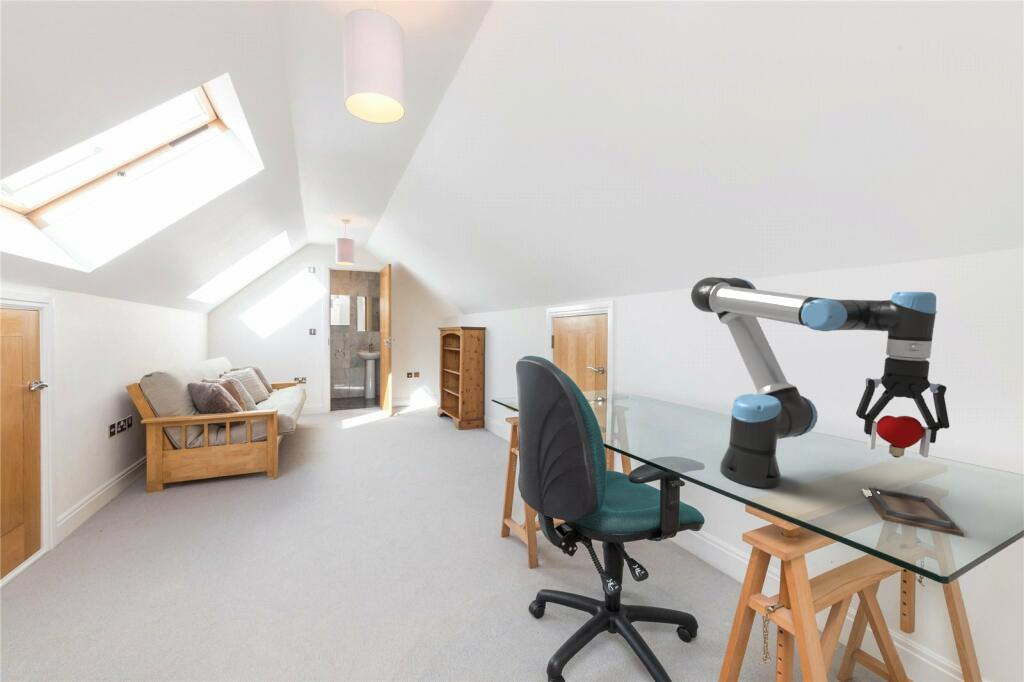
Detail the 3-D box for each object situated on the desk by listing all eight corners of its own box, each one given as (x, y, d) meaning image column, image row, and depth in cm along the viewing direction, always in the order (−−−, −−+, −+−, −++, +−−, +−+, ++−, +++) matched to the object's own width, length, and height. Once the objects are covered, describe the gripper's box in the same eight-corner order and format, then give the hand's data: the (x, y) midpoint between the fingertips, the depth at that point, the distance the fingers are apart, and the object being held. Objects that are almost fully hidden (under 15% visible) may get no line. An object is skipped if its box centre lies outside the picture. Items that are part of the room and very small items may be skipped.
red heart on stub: (902, 452, 101) (906, 412, 100) (930, 463, 94) (935, 421, 93) (864, 451, 101) (868, 412, 100) (889, 462, 95) (894, 420, 94)
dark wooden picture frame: (882, 519, 97) (883, 511, 97) (861, 490, 111) (862, 483, 111) (963, 536, 91) (965, 528, 91) (930, 503, 105) (931, 496, 105)
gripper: (852, 356, 98) (843, 447, 100) (980, 364, 87) (967, 466, 89) (845, 352, 104) (837, 438, 106) (964, 360, 94) (952, 455, 96)
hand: (896, 451), depth 98 cm, fingers closed on red heart on stub, 9 cm apart
